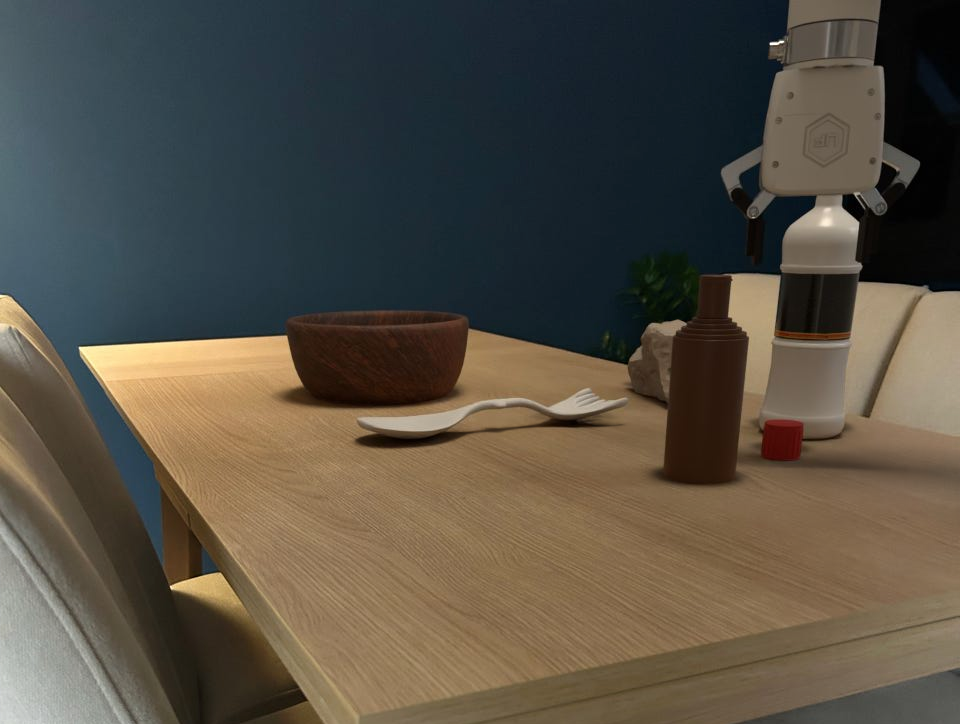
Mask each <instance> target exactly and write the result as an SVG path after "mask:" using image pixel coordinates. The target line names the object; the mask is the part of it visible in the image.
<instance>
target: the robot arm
mask: <svg viewBox="0 0 960 724" xmlns="http://www.w3.org/2000/svg"><path fill="white" fill-rule="evenodd" d="M881 1H882V0H788V15H787V24H786V26H787V27H786V34H785V35H783V37H782V39H777V41H769V42H768V48H767V60H776V61H779V62H780V64H782V71H779V72H778V71H777V72H776V74H775V77H774V79H773V84H772V88H771V92H770V97H769V103H768V107H767V113H766V117H765V122H764V123H765V124H764V130H763V137H762V144H761V145H760V146H758V147H756V148H755V149H753V150H751V151H749V152H747V153H746V154H744V155H742V156H740V157H739V158H737V159H735V160H734V161H732V162H730V163H728V164H727V165H725V166H723V167H722V168H721V170H720V171H719V176H720V178H721V180H722V182H723V186H724V188H725V190H726V192H727V194H728V198H729V200H730V202H732V204H734V205H735V206H736V208H737V209H738V211H739V212H741V214H742V215H743V216H744V218H745V219H746V230H745V231H746V232H745V244H744V256H745V257H750V265H751V266H760V264H763V256H764V255H763V254H764V243H765V230H766V220H765V219H764V218H763V217H764V210H765V209H766V208H767V207H768V206H769V204H771V202H772V201H773V200H774V199H775V198H776V197H809V196H811V197H812V196H814V197H817V195H842V196H843V195H854V196H855V198H856V199H857V201H858V202H859V203H860V205H861V206H862V208H863V209H864V211H863V216H861V217H859V221H858V222H859V230H858V238H857V247H856V256H855V261H857V262H858V263H861V264H869V263H870V261H871V256H872V255H871V254H876V253H877V251H878V247H879V240H880V239H879V238H880V231H881V222H882V216H883V215H884V214H886V212H887V211H888V210H889V208H891V207H892V206H893V205H894V203H896V202H897V201H898V200H899V199H900V198H901V197H902V196H903V195H904V194H905V193H906V190H907V188H908V186H909V185H910V184H911V182H912V180H913V179H914V177H915V176H916V174H917V172H918V171H919V169H920V166H921V163H920V161H919V160H918V159H916V158H915V157H912V156H911V155H909V154H907V153H906V152H904V151H902V150H900V149H899V148H896V147H895V146H893V145H891V144H889V143H887V142H885V141H884V136H885V135H884V133H885V113H886V111H885V110H886V108H885V106H886V105H885V102H886V98H885V97H886V91H885V72H884V67H883V66H882V65H874V63H875V56H876V48H877V47H876V45H877V38H878V37H877V36H878V30H879V29H878V28H879V20H880V12H881V4H882V3H881ZM882 163H884V164H886V165H888V166H890V167H891V168H893V169H895V170H896V175H895V177H894V178H893V180H892V181H891V184H890V185H889V186H888V187H886V189H884V190H883V191H882V192H881V193H880V192H879V191H878V189H877V188H876V186H877V185H878V183H879V180H880V177H881V171H882ZM758 164H759V174H758V186H759V192H758V193H757V194H756V195H755V197H754V198H753V199H752V198H751V197H750V196H749V195H748V193H747V192H746V191H745V190H744V189H743V186H742V185H741V181H740V176H741V174H742V173H745V171H747V170H750V169H751V168H753V167H754V166H756V165H758Z"/></svg>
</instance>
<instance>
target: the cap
mask: <svg viewBox="0 0 960 724" xmlns="http://www.w3.org/2000/svg"><path fill="white" fill-rule="evenodd" d="M803 427H804V423H802V422H799V421H794V420H784V419H776V420H767V421H765V424H764V429H763V430H762V438H761V446H760V448H761V449H760V455H761V457H762V458H765V459H767V460H768V459H769V460H774V461H794V460H799V459H800V458H801V453H802V446H803V439H802V438H803V430H804V429H803Z"/></svg>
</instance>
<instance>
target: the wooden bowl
mask: <svg viewBox="0 0 960 724" xmlns="http://www.w3.org/2000/svg"><path fill="white" fill-rule="evenodd" d="M469 325H470V320H469V318H468V317H467V316H465V315H463V314H460V313H453V312H446V311H445V312H443V311H431V310H429V311H428V310H390V309H389V310H388V309H387V310H386V309H385V310H351V311H350V310H349V311H348V310H347V311H332V312H331V311H329V312H318V313H317V312H316V313H310V314H302V315H296V316H292V317H289V318H287V319H286V320H285V326H284V327H285V332H286V338H287V343H288V347H289V352H290V355H291V360H292V363H293V367H294V369H295V372H296V374H297V376H298V378H299V380H300V382H301V384H302V386H303V387H304V389H305V390H306V392H307V393H308V394H309V395H310V396H311V397H313V398H315V399H317V400H321V401H326V402H334V403H343V404H344V403H345V404H362V405H363V404H364V405H365V404H367V405H371V404H373V405H374V404H375V405H377V404H378V405H379V404H404V403H415V402H422V401H428V400H433V399H438V398H441V397H445V396H446V395H448V394H450V392H452V391H453V390H454V388H455V386H456V384H457V382H458V381H459V378H460V376H461V374H462V373H461V372H462V370H463V367H464V363H465V358H466V354H467V347H468V338H469V329H470V326H469Z"/></svg>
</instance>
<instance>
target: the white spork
mask: <svg viewBox="0 0 960 724" xmlns="http://www.w3.org/2000/svg"><path fill="white" fill-rule="evenodd" d="M592 392H593V391H592V388H589V387H587V388H584V389H581V390H579V391H578V392H576V393H574V394H573V395H570V396H569V397H567V398H566V399H564V400H562V401H559V402H557V403H554V404H553V405H550V406H548V407H547V406H545V405H542V404H540V403H539V402H536V401H534V400H532V399H528V398H524V397H508V398H492V399H485V400H481V401H477V402H473V403H470V404H468V405H465V406H461V407H459V408H456V409H452V410H447V411H443V412H442V411H441V412H437V413H436V412H435V413H429V414H428V413H427V414H419V415H417V414H416V415H409V416H360V417H357V418H356V423H357V425H358V427H359V428H361V429H363V430H365V431H369V432H372V433H376V434H379V435H381V436H386V437H391V438H396V439H403V440H418V439H419V440H420V439H424V438H429V437H433V436H435V435H438V434H441V433H444V432H446V431H448V430H450V429H452V428H453V427H455V426H457V425H458V424H459V423H461V422H462V421H464V420H465V419H466V418H468V417H469V416H471V415H474V414H476V413H479V412H482V411H488V410H489V411H490V410H503V409H513V408H525V409H529V410H532V411H535V412H536V413H539V414H542V415H544V416H545V417H548V418H550V419H555V420H559V421H560V420H561V421H575V420H580V419H585V418H590V417H593V416H597V415H600V414H604V413H607V412H612V411H614V410H618V409H621V408H623V407H625V406H627V405H628V403H629V399H628V397H622V398H619V399H615V400H612V399H610V400H606V399H600V396H598V395H597V396H596V393H594V392H593V393H592Z"/></svg>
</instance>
